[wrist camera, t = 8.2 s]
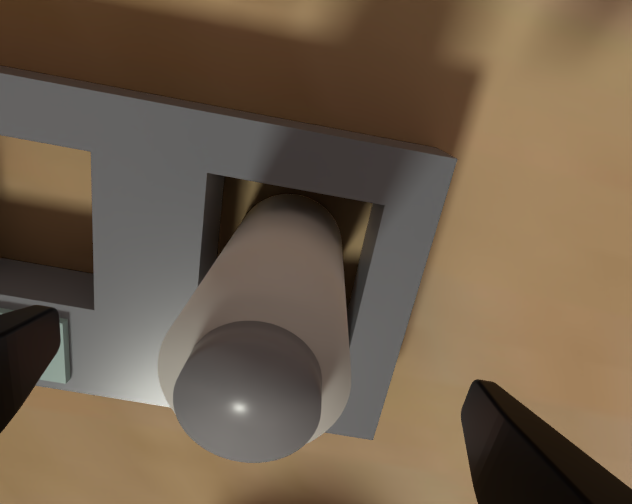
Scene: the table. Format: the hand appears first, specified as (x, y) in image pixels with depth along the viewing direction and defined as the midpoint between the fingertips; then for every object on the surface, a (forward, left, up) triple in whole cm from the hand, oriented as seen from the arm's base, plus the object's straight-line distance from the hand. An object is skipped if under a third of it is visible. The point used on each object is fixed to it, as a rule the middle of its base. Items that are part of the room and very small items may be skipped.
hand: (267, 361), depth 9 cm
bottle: (0, 0, -8) cm, 8 cm away
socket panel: (-1, +5, -8) cm, 9 cm away
